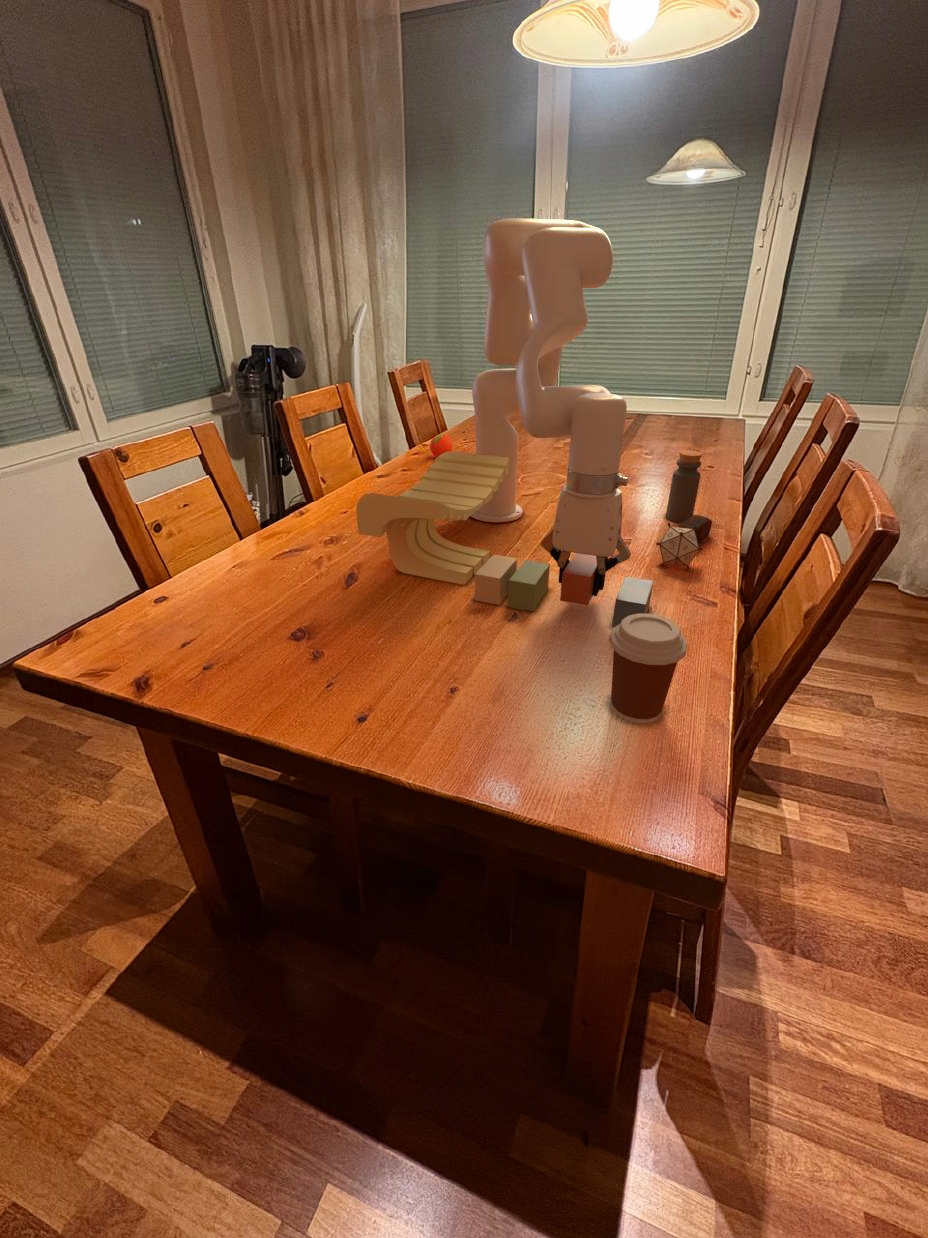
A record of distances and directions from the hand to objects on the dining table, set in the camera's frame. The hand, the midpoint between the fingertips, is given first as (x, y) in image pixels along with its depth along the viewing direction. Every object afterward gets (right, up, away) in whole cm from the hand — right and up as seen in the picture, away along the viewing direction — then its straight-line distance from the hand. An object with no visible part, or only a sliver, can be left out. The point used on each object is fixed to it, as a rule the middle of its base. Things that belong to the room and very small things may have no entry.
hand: (580, 588), depth 99 cm
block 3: (+8, -5, -1) cm, 9 cm away
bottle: (+30, +18, +40) cm, 53 cm away
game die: (+22, +5, +17) cm, 28 cm away
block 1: (-14, 0, +7) cm, 15 cm away
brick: (+29, +11, +27) cm, 41 cm away
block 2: (-8, -1, +5) cm, 10 cm away
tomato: (-26, +44, +86) cm, 100 cm away
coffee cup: (+3, -16, -22) cm, 28 cm away
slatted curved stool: (-24, +6, +17) cm, 30 cm away
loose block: (0, 0, 0) cm, 1 cm away
